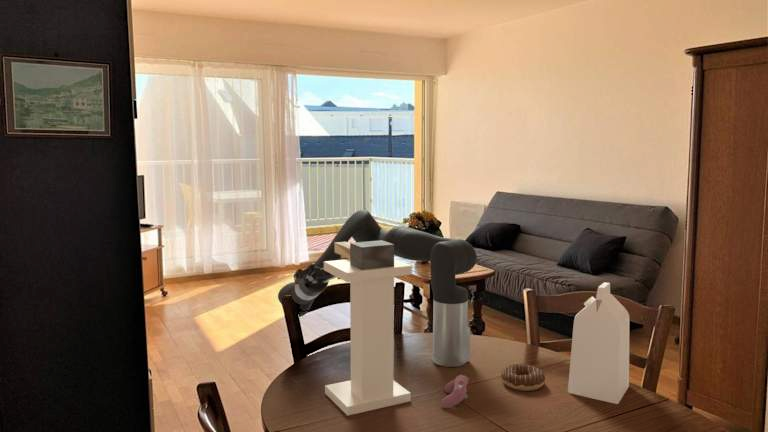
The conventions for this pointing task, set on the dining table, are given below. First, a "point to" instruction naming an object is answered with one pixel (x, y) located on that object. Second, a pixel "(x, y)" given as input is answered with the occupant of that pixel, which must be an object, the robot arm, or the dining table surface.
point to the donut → (523, 377)
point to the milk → (600, 349)
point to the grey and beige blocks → (367, 254)
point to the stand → (369, 339)
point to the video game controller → (455, 391)
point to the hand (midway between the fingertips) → (329, 265)
